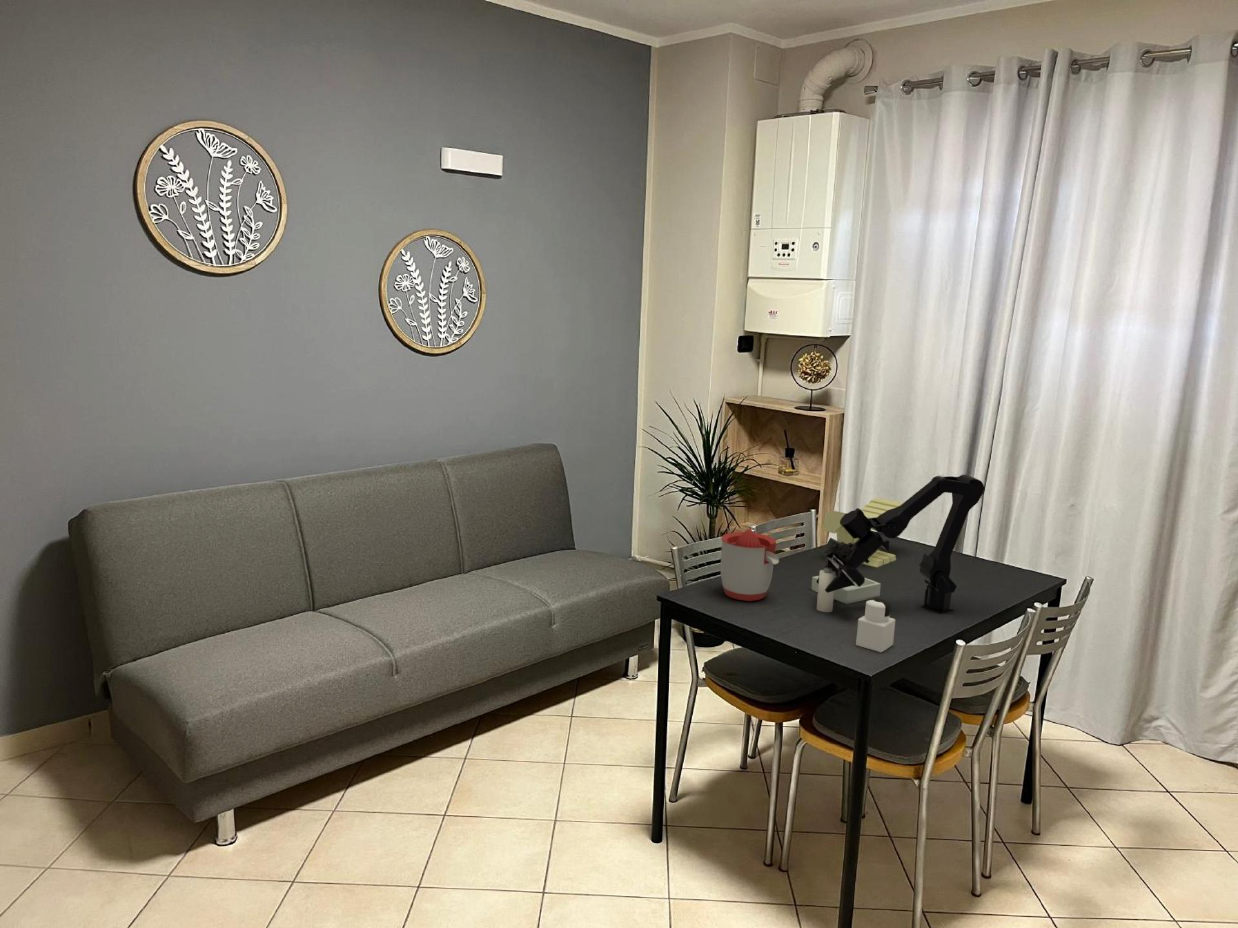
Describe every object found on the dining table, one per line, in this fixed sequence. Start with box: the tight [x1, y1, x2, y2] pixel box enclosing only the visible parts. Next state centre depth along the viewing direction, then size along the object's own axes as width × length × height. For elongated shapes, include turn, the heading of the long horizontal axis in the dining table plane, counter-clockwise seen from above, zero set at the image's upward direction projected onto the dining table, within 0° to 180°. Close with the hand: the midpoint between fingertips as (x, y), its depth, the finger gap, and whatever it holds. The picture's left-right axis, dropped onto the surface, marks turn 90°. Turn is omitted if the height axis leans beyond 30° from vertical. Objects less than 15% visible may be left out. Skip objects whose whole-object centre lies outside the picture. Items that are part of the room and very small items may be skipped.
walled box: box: [811, 575, 882, 605], centre depth 275 cm, size 14×14×4 cm
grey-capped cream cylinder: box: [816, 568, 836, 613], centre depth 260 cm, size 4×4×12 cm
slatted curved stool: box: [822, 497, 904, 568], centre depth 311 cm, size 30×16×18 cm, turn 136°
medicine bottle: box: [855, 597, 896, 653], centre depth 235 cm, size 7×7×12 cm
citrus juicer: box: [720, 528, 780, 602], centre depth 268 cm, size 16×17×20 cm
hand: (821, 587), depth 260 cm, fingers open, 7 cm apart
